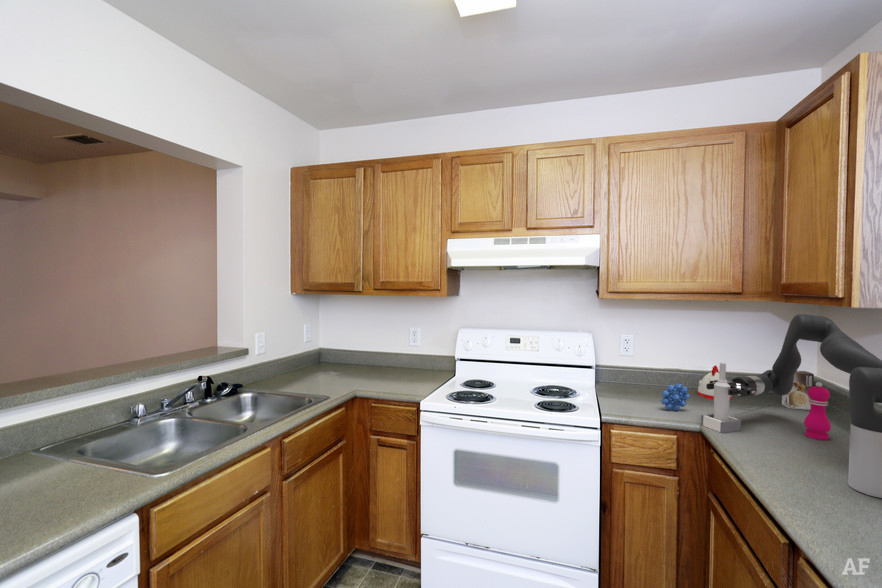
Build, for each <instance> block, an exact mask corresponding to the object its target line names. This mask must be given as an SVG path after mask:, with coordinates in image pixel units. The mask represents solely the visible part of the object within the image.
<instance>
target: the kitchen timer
mask: <svg viewBox="0 0 882 588" xmlns="http://www.w3.org/2000/svg"><path fill="white" fill-rule="evenodd" d="M719 371H720V368H718V366H717V365H715V364H714V365H713V366H712V369H711V372H709V373H707V374H706V375H704V376H703V378H702V379H699V382H698V388H697V395H698V396H699V397H702V398H704V399H705V398H706V399H708V400H714V389H707V388H706V385H707V384H708V383H710V381H714V380H719ZM725 380H726V381H727V382H728V380H727V379H726V378H725ZM732 398H733V395H730V401H731V400H732Z"/></svg>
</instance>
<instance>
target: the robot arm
mask: <svg viewBox="0 0 882 588" xmlns="http://www.w3.org/2000/svg"><path fill="white" fill-rule="evenodd" d="M799 340H803V341H807V342H808V341H810V342H815V343H816V342H817V343H821V344H820V347H819V351H820V353H821V356H822V357H823V358H824V359H825V360H826V361H827V362H828V363H829V364H830V365H831V366H833V367H834V368H836V369H838V370H840V371H841V372H844V373H847V374H849V379H848V387H849V389H848V392H849V393H848V394H849V413H850V431H849V455H848V475H847V478H848V479H847V481H848V483H847V484H848V485H847V486H849V487H850V488H851V489H853V490H855V491H857V492H860V493H862V494H865V495H867V496H871V497H875V498H880V499H882V413H881V412H879V411H877V410H876V409H875V404H882V359H880V358H878V357H877V356H876V355H874V354H873V353H871V352H870V351H869V350H868V349H866V348H864V347H863V346H862V345H861V344H860V343H858V342H857V341H856V340H854V339H853V338H851V337H850V336H849V335H847V334H846V333H845V332H844V331H842V330H841V329H840V327H839V326H838V325H837V324H836V323H835V322H834V321H833V320H832V319H831V318H829V317H826V316H823V315H822V316H821V315H814V314H806V313H805V314H804V313H798V314H796V315H795V316H793V318H792V319H791V320H790V323H789V325H788V328H787V331H786V333H785V337H784V340H783V343H782V346H781V350H780V352H779V354H778V357H777V358H776V360H775V361H774V363H773V365H772V368H771V369H768V370H765V371H764V372H762V373H761V374H758V375H745V376H736V377H734V378H732V379H731V380H727V383H728V384H729V385H730V389H729V390H728V395H732V396H738V397H752V396H757V395H761V394H768V393H770V392H772V393H773V394H774V395H777V396H780V397H782V396H783V395H786V394H788V393H789V392H790V391H791V389H792V387H793V381H794V374H795V373H796V371H798V369H799V368H800V367H801V365H802V355H801V353H800V350H799V348H798V346H797V345H798V344H797V343H798V342H799ZM716 382H718V380H714V381H710V383H708V384H707V385H706V388H707V389H714V384H715V383H716Z"/></svg>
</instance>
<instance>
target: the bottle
mask: <svg viewBox="0 0 882 588" xmlns="http://www.w3.org/2000/svg"><path fill="white" fill-rule="evenodd" d="M718 369H719V370H718V373H719V380H718V382H716V383H715V384H714V399H713V413H714V419H717V420H720V421H728V420H729V416H730V401H731V400H730V395H728V390H729V389H730V385H729V384H728V383H727V382H728V380H727V379H726V376H727V375H726V373H727V371H726V370H727V363H726V362H719V368H718ZM725 379H726V380H727V381H726V380H725Z"/></svg>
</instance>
